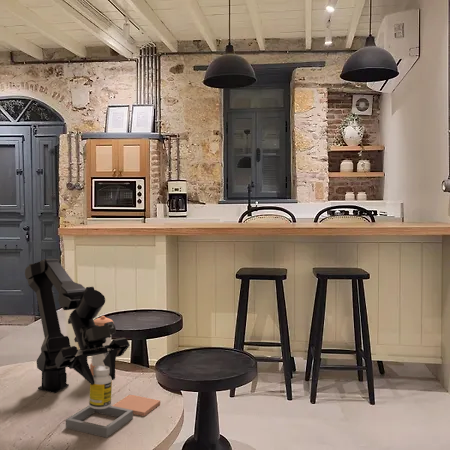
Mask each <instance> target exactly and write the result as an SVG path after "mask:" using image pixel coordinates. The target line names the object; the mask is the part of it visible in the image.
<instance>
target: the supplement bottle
mask: <svg viewBox="0 0 450 450" xmlns="http://www.w3.org/2000/svg"><path fill="white" fill-rule="evenodd" d="M109 372H110V368H109V367H108V366H96V367H94V371H93V374H94V375H93V378H94V385H91V384H90V383H89V400H88V401H89V402H88V403H89V405H90V407H91V408H93V409H105V408H108V407H109V406H112V405H111V404H112V390H113V389H112V385H113V380H112V377H111V376H110V375H108V374H109ZM89 405H88V406H89Z"/></svg>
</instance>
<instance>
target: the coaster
mask: <svg viewBox="0 0 450 450" xmlns="http://www.w3.org/2000/svg"><path fill="white" fill-rule="evenodd" d="M160 405H161V400H159V399H154V398H149V397H144V396H141V395H140V396H139V395H133V394H128V395H127V396H125V397H123V398H122V399H121V400H119V401H117V402H116V403H114V404H113V405H112V406H115V407H120V408H125V409H129V410H133V415H135V416H136V415H137V416H140V417H141V416H142V417H145V416H147V415H148V414H149V413H151V412H152V411H153V410H154V409H156V408H157V407H158V406H160Z"/></svg>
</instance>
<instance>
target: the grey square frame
mask: <svg viewBox="0 0 450 450" xmlns="http://www.w3.org/2000/svg"><path fill="white" fill-rule="evenodd" d="M95 413H97V414H101V415H106V416H111V417H116V419H114V420H113V421H111V422H110V423H108V424H106V426H105V425H101V424H99V423H98V424H97V423H93V422H88V421H84V420H85V419H87V418H89V417H90V416H91V415H93V414H95ZM133 416H134V414H133V410H129V409H125V408H120V407H115V406H113V405H110V406H109V407H108V408H105V409H93V408H91V407H90V405H87V406H86V407H84V408H82V409H80V410H79V411H77V412H76V413H74V414H73V415H71V416H69V417H67V418H66V419H65V428H66V429H69V430H73V431H76V432H81V433H85V434H90V435H93V436H97V437H102V438H108V437H110V436H112V434H114V433H116V432H117V431H118V430H119V429H121V428H122V427H123V426H125V425H126V424H127V423H129V422H130V421H132V420H133V418H134V417H133Z"/></svg>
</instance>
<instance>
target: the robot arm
mask: <svg viewBox="0 0 450 450" xmlns="http://www.w3.org/2000/svg"><path fill="white" fill-rule="evenodd" d="M24 275H25V279H26V280H27V284H28V286H29V287H30V289H32V291H33V292H35V294H36V295H35V296H36V299H37V305H38V310H39V314H40V321H41V325H42V330H43V335H44V340H43V342H42V343H41V346H40V351H41V352H40V354H39V356H38V358H37V359H36V368H37V369H38V370H39V371H40V372H41V386H39V387H37V390H38V391H39V390H40V391H45V392H49V393H57V392H60V391H62V390H64V389H65V388H67V387H69V385H70V384H69V383H67V379H68V378H67V377H68V373H67V372H66V370H67V369H66V368H68V369H70V370H74V371H75V372H77V373H78V374H79V375H80V376H82V378H84V379H85V380H86V381H87V382H88V383H89V385H90V384H91V385H94V378H93V375H92V373H91V370H90V365H89V363H88V357H92V356H93V355H99V354H104V356H105V359H104V360H103V362H104V364H105V366H108V367H109V368H110V372H109V375H110V376H111V377H112V381H114V380H116V360H117V357H119V358H120V357H122V356H124V353H126V351H127V350H128V348H129V347H130V346H131V345H130V342H129V340H128V339H127V338H126V337H118V338H113V339H111V343H110V344H109V345H106V346H103V343H105V342H106V338H108V337H109V338H110V337H111V338H112V336H113V335H114V334H116V333H117V329H116V325H115V322H114V321H113V322H114V323H113V322H107V323H105V324H104V326H98V325H95V323H94V320H95V319H96V317H97V316H98V314H99V313H100V312H101V310H102V308H103V307H104V305H105V304H106V298H105V295H103V293H102V292H100V291H99V290H97V289H95V288H94V286H87V287H85V286H84V285H82V284H81V283H77V282H75V281H73V279H72V278H71V276H70V275H69V273H68V272H67V271H66V270H65V268H64V267H63V266H62V264H61V260H60V259H59V258H44V259H41V260H40V261H38V262H35V263H30V264H29V265H28V266H27V267H26V268H25V269H24ZM53 287H54V288H55V289H56V291H57V293H58V297H57V298H58V299H57V301H58V303H59V306H60V307H61V308H62V310H64V311H71V312H70V313H69V317H68V319H67V320H68V321H67V324H69V325H71V327H72V329H73V332H74V336H75V337H74V339H73V340H74V342H75V343H77V345H78V347H79V349H78V348H77V346H75V345H74V346H73V345H72V346H71V343H70V341H71V340H70V337H69V336H68V335H64V334H63V333H62V330H61V326H60V320H59V316H58V311H57V306H56V302H55V297H54V291H53Z"/></svg>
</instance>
